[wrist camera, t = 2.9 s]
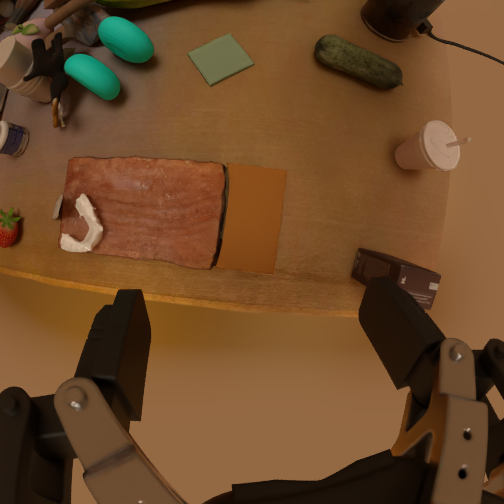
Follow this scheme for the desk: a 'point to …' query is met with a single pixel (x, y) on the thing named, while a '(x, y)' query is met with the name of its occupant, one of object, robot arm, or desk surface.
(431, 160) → the smoothie
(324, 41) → the vegetable
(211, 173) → the brown wooden flat board
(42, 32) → the pinkish white round bulb
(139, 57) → the donuts
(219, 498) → the robot arm
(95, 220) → the false teeth
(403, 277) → the box
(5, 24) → the coin fragment
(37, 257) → the desk surface
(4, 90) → the tin
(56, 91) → the figurine
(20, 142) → the pill bottle
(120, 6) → the lettuce
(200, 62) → the mat
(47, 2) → the wood blocks
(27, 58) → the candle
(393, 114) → the desk surface
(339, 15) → the desk surface
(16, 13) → the sauce bottle
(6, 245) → the fruit
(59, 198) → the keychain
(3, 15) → the binoculars
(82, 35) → the stone
